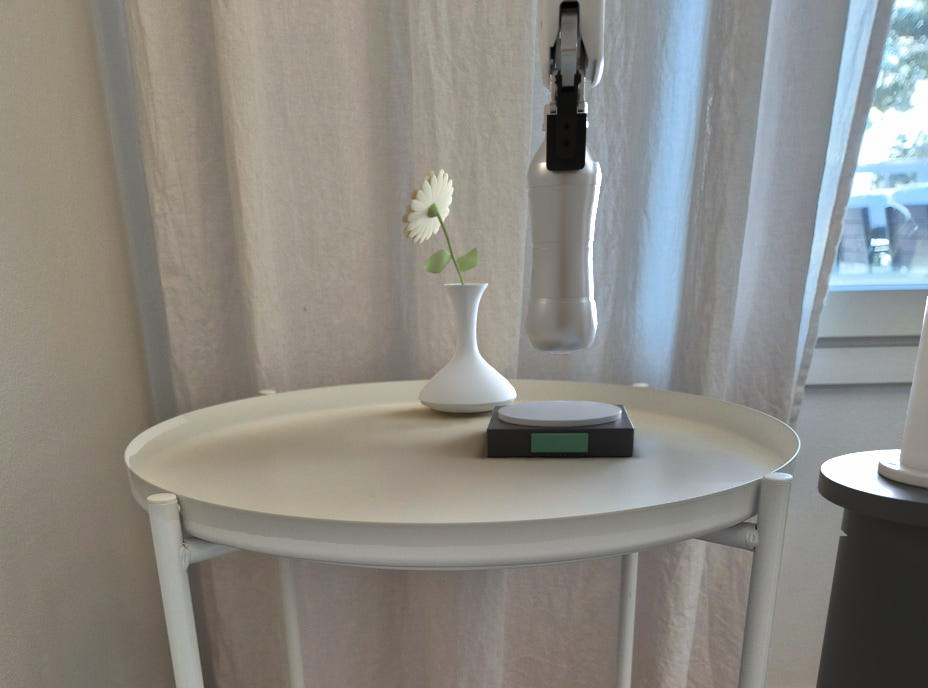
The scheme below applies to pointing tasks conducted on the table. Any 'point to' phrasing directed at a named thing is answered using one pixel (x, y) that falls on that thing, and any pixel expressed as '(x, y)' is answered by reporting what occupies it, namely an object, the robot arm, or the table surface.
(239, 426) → the table surface
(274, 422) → the table surface
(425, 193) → the flower in vase
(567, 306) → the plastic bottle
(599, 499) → the table surface
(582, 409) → the scale
